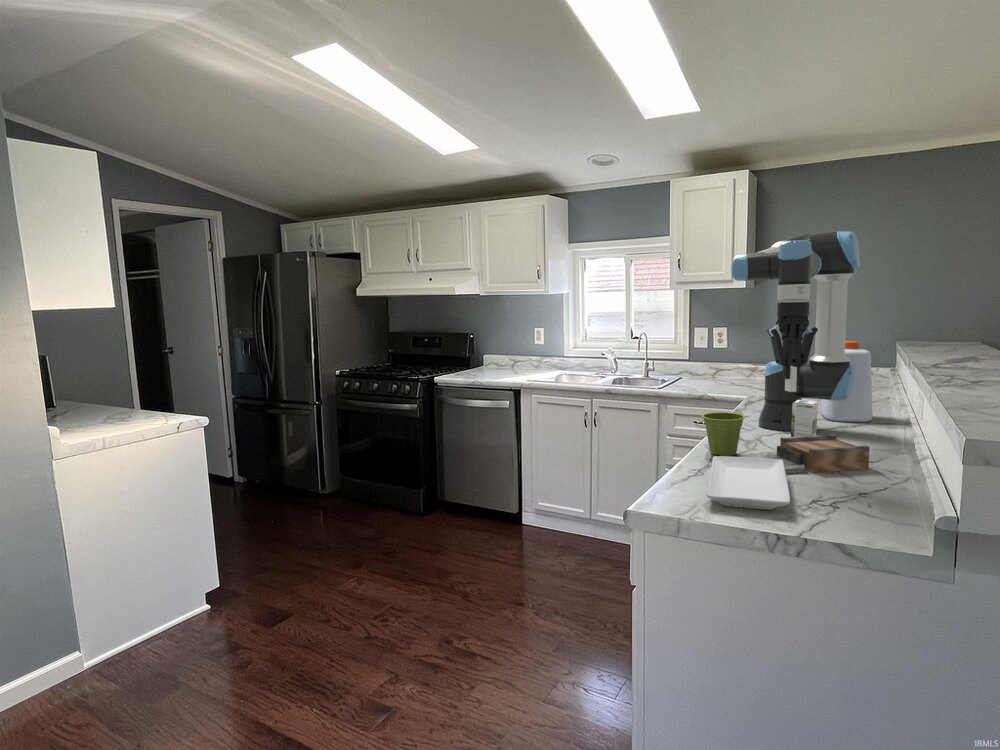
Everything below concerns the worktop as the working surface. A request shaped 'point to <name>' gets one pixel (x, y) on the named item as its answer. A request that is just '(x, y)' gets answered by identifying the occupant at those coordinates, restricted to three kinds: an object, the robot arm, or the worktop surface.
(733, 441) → the plant pot
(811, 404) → the syrup box
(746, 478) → the tray
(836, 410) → the plastic bottle
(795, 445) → the walnut box
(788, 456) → the lid
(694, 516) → the worktop surface
